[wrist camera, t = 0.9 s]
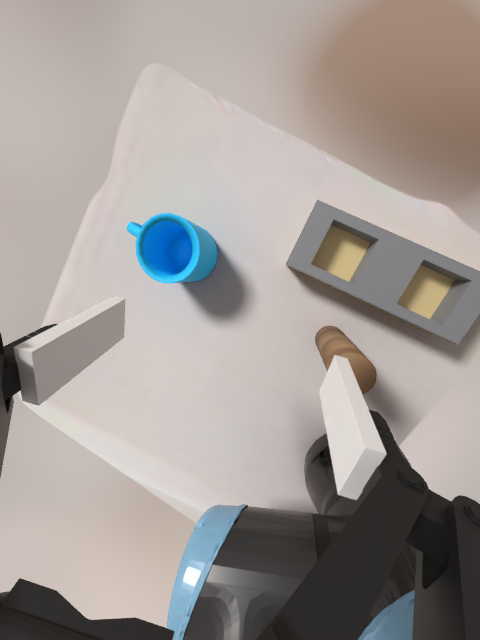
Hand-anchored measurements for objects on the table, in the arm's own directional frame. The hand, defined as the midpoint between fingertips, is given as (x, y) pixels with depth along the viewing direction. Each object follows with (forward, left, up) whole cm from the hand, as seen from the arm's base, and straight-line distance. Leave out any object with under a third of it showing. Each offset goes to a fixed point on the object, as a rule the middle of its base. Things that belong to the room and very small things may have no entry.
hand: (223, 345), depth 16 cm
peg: (-6, -9, -23) cm, 26 cm away
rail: (+3, -16, -23) cm, 28 cm away
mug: (+9, +12, -24) cm, 28 cm away
